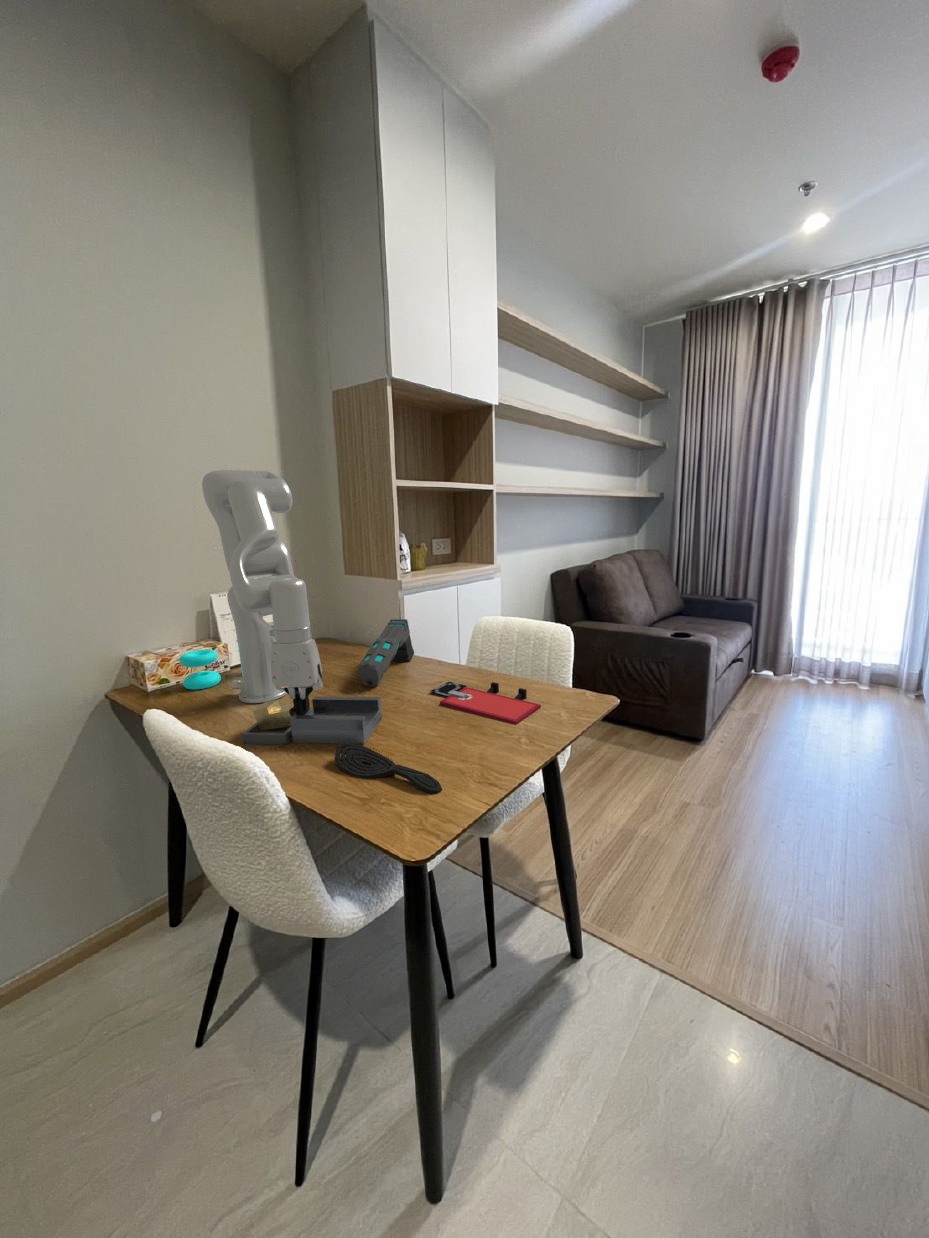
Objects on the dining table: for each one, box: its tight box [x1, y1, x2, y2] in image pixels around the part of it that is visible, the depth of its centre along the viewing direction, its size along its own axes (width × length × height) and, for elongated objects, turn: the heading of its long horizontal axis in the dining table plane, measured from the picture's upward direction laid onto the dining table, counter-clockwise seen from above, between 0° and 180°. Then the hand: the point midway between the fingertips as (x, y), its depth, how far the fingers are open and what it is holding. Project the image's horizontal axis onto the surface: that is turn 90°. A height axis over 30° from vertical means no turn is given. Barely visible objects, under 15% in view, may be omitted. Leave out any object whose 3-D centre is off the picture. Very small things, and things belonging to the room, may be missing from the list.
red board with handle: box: [429, 681, 542, 725], centre depth 125 cm, size 30×3×15 cm
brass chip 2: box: [269, 702, 296, 729], centre depth 112 cm, size 5×5×4 cm
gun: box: [357, 618, 415, 688], centre depth 151 cm, size 7×29×15 cm, turn 167°
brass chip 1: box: [252, 699, 281, 731], centre depth 113 cm, size 5×5×4 cm
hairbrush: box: [334, 739, 443, 795], centre depth 92 cm, size 8×4×25 cm
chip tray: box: [241, 707, 313, 745], centre depth 113 cm, size 10×15×2 cm, turn 173°
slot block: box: [290, 695, 383, 745], centre depth 111 cm, size 16×13×6 cm
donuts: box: [178, 649, 222, 691], centre depth 146 cm, size 10×10×10 cm
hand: (302, 713), depth 112 cm, fingers closed
